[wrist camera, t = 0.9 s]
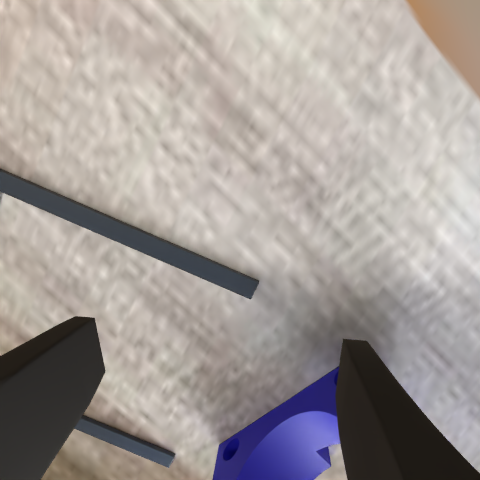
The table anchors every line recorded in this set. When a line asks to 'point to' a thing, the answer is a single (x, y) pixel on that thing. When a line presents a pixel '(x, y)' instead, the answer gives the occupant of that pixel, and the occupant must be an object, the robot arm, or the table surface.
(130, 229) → the frame
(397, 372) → the table surface
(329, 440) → the blue cradle bracket
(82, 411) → the robot arm
